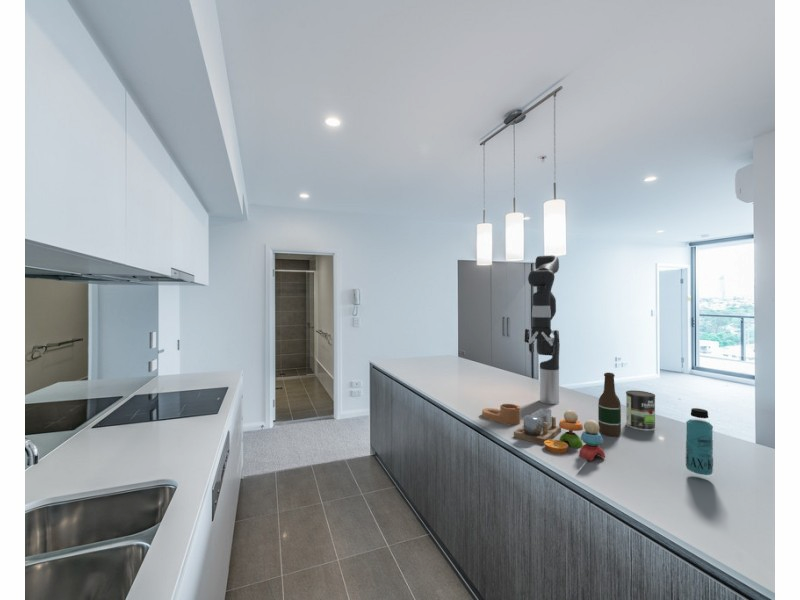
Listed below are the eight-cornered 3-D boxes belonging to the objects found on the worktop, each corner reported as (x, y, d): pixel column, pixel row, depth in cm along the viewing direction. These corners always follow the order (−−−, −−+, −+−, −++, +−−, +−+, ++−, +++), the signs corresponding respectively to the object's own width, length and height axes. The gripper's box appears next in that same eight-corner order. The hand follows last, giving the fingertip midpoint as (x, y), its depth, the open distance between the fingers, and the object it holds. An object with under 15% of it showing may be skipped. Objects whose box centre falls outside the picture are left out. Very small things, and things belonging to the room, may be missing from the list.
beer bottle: (619, 431, 147) (619, 372, 147) (622, 438, 140) (621, 375, 140) (597, 428, 150) (597, 370, 150) (599, 434, 143) (598, 374, 143)
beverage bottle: (680, 470, 113) (679, 406, 113) (699, 469, 114) (699, 405, 114) (699, 481, 106) (698, 412, 107) (719, 480, 107) (719, 412, 107)
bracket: (523, 422, 159) (523, 406, 159) (513, 426, 153) (513, 410, 153) (489, 413, 172) (489, 398, 172) (478, 416, 167) (478, 401, 167)
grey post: (539, 421, 153) (539, 407, 153) (553, 424, 149) (553, 410, 149) (521, 433, 140) (521, 417, 140) (537, 437, 136) (537, 421, 136)
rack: (531, 425, 155) (531, 410, 155) (561, 431, 147) (561, 416, 147) (513, 436, 141) (513, 421, 141) (544, 444, 133) (544, 428, 133)
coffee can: (661, 430, 148) (661, 395, 149) (640, 432, 146) (640, 397, 146) (640, 421, 159) (640, 389, 159) (620, 423, 156) (620, 390, 157)
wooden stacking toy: (536, 446, 132) (536, 412, 133) (569, 438, 140) (568, 406, 140) (580, 466, 116) (579, 427, 116) (614, 456, 124) (614, 419, 124)
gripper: (561, 316, 156) (561, 354, 156) (528, 315, 166) (528, 351, 166) (555, 316, 151) (555, 356, 151) (521, 316, 160) (522, 352, 160)
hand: (541, 353), depth 158 cm, fingers open, 8 cm apart
